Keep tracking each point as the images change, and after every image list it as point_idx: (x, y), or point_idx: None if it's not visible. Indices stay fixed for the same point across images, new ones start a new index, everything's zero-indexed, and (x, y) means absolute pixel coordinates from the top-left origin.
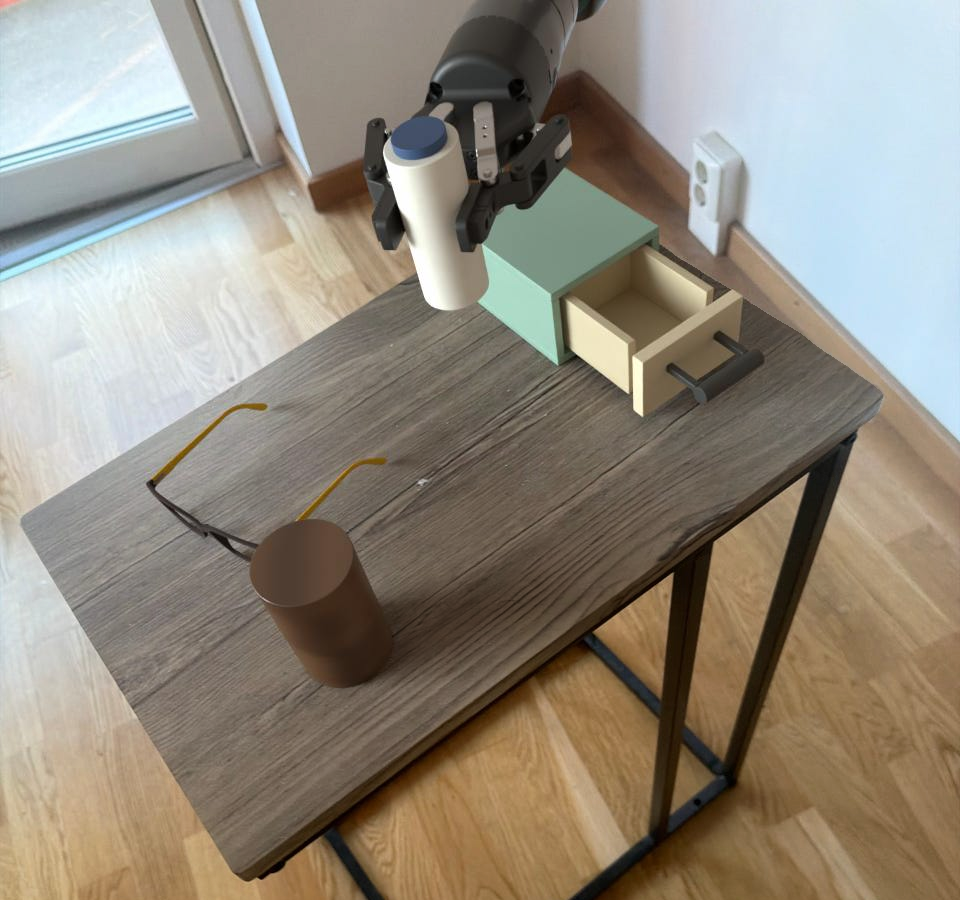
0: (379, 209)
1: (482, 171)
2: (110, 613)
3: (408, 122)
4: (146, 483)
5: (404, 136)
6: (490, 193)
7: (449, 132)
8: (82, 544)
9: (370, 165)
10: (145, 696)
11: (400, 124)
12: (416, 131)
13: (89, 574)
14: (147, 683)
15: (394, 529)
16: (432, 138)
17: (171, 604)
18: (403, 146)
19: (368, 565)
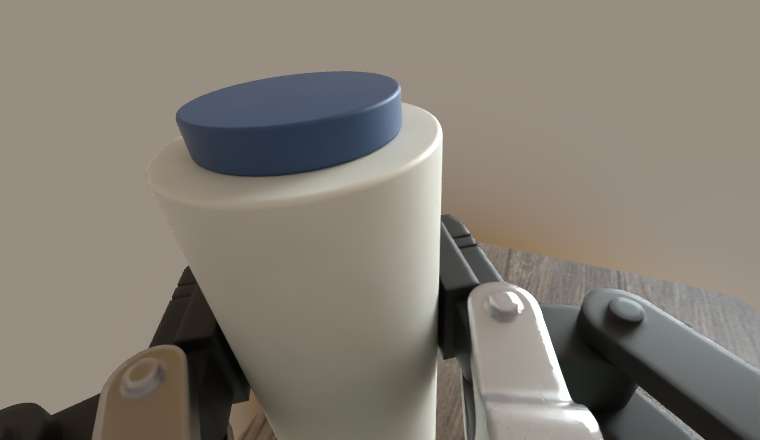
0: (461, 239)
1: (165, 382)
2: (592, 274)
3: (358, 99)
4: (688, 325)
5: (338, 83)
6: (158, 341)
7: (184, 168)
8: (687, 302)
9: (625, 303)
10: (511, 251)
11: (392, 95)
12: (299, 92)
13: (645, 287)
14: (518, 256)
15: (459, 425)
16: (226, 94)
17: (563, 294)
18: (320, 74)
19: (453, 379)
